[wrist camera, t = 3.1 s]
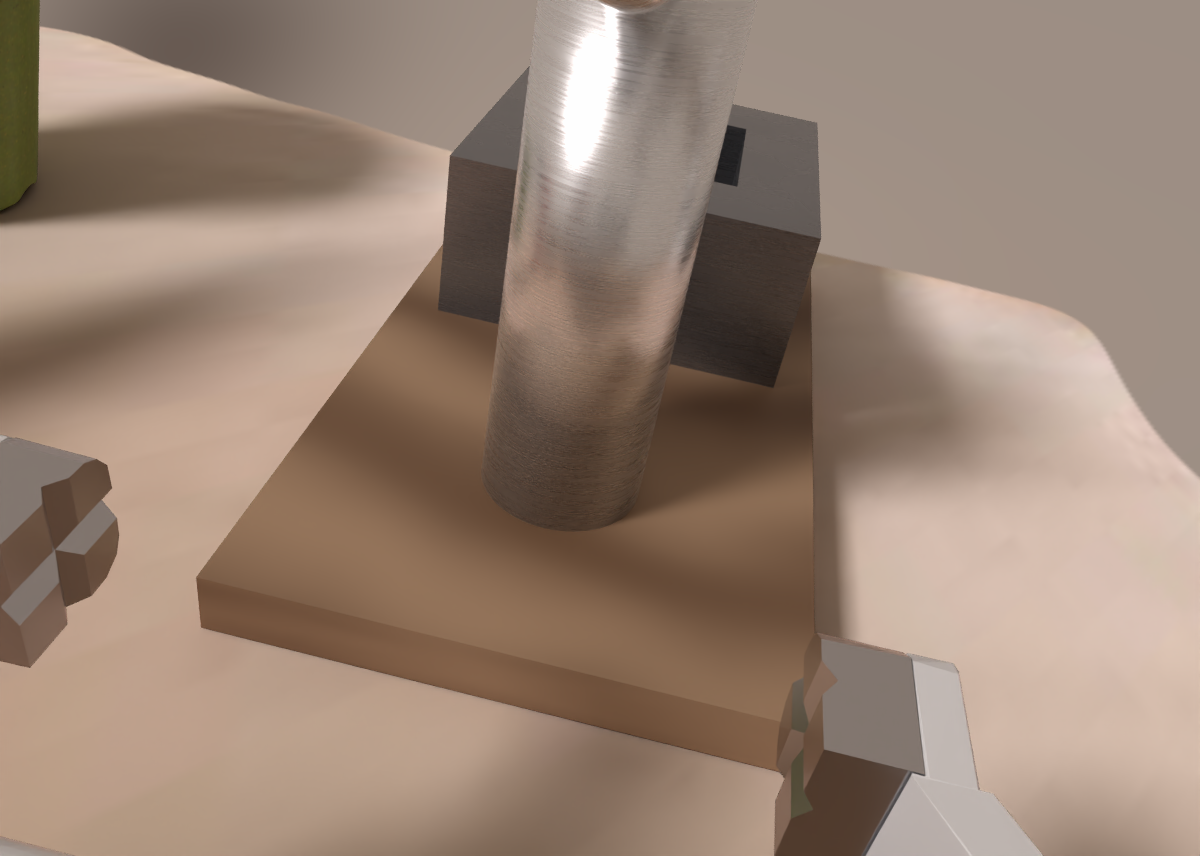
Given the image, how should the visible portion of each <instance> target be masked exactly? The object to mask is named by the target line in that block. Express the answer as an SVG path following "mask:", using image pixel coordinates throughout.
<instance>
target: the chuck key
mask: <svg viewBox="0 0 1200 856" xmlns="http://www.w3.org/2000/svg"><path fill="white" fill-rule="evenodd" d="M756 4H757V0H538V2H537V10H536V18H535V27H534V35H533V44H532V52H531V61H530V68H529V77H528V85H527V93H526V102H525V110H524V119H523V127H522V135H521V144H520V152H519V160H518V169H517V177H516V185H515V194H514V202H513V210H512V219H511V227H510V235H509V244H508V252H507V260H506V269H505V277H504V285H503V294H502V302H501V310H500V319H499V327H498V336H497V344H496V352H495V361H494V369H493V377H492V386H491V394H490V402H489V411H488V419H487V427H486V436H485V444H484V452H483V461H482V469H481V476H482V481H483V485H484V487H485V489H486V491H487V493H488V494H489V496H490V497H491V498H492V500H493V501H494V502H495V503H496V504H497V505H498V506H500V507H501V508H502V509H503V510H505V511H506V512H507V513H509V514H511V515H512V516H514V517H516V518H518V519H520V520H522V521H524V522H527V523H529V524H532V525H535V526H538V527H542V528H546V529H551V530H557V531H572V532H577V531H588V530H594V529H599V528H602V527H606V526H608V525H610V524H613V523H615V522H617V521H618V520H620V519H622V518H623V517H624V516H625V515H627V514H628V513H629V511H630V510H631V509H632V508H633V506H634V504H635V503H636V500H637V497H638V493H639V489H640V485H641V481H642V477H643V473H644V469H645V464H646V460H647V456H648V452H649V448H650V444H651V440H652V435H653V431H654V427H655V423H656V419H657V415H658V411H659V406H660V402H661V398H662V394H663V390H664V386H665V381H666V377H667V373H668V369H669V365H670V361H671V357H672V352H673V348H674V344H675V340H676V336H677V332H678V328H679V323H680V319H681V315H682V311H683V307H684V303H685V299H686V294H687V290H688V286H689V282H690V278H691V274H692V269H693V265H694V261H695V257H696V253H697V249H698V245H699V240H700V236H701V232H702V228H703V224H704V220H705V216H706V211H707V207H708V203H709V199H710V195H711V191H712V187H713V182H714V178H715V174H716V170H717V166H718V162H719V157H720V153H721V149H722V145H723V141H724V137H725V133H726V128H727V124H728V120H729V116H730V112H731V108H732V103H733V99H734V95H735V91H736V87H737V82H738V79H739V75H740V70H741V66H742V62H743V58H744V54H745V49H746V45H747V41H748V37H749V33H750V29H751V25H752V21H753V16H754V12H755V8H756Z"/></svg>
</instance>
